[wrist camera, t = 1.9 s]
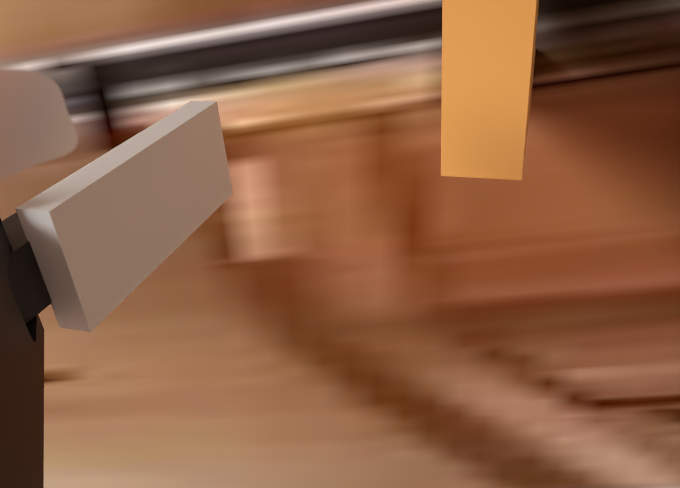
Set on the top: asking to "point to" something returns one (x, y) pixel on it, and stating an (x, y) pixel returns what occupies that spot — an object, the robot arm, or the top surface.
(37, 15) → the top surface
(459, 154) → the tall orange block
